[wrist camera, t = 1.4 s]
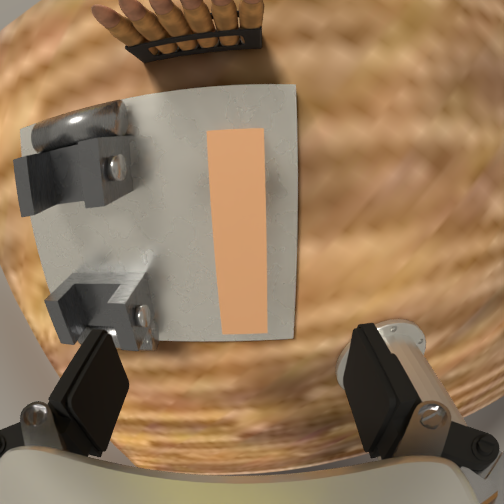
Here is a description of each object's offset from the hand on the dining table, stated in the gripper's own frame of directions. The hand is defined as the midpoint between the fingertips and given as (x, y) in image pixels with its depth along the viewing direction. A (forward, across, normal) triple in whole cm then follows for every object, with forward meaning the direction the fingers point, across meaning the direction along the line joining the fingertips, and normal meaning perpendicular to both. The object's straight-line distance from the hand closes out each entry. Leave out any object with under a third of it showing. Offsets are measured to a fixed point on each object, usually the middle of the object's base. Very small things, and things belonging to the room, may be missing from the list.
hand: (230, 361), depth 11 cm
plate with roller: (+18, +9, 0) cm, 20 cm away
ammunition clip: (+18, +3, -17) cm, 25 cm away
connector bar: (+17, 0, 0) cm, 17 cm away
